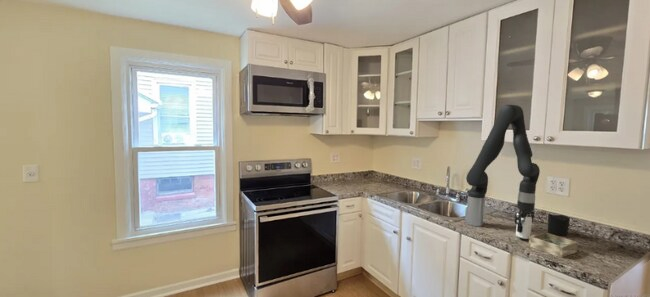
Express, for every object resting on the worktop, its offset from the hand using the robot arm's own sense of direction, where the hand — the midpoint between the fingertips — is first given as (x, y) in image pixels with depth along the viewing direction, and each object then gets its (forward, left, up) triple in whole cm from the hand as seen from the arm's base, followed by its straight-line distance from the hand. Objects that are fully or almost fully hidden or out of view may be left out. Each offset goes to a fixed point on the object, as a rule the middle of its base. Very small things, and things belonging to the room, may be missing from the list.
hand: (523, 230), depth 152 cm
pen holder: (+3, +28, -5) cm, 29 cm away
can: (0, 0, -3) cm, 3 cm away
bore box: (+13, +1, -5) cm, 14 cm away
